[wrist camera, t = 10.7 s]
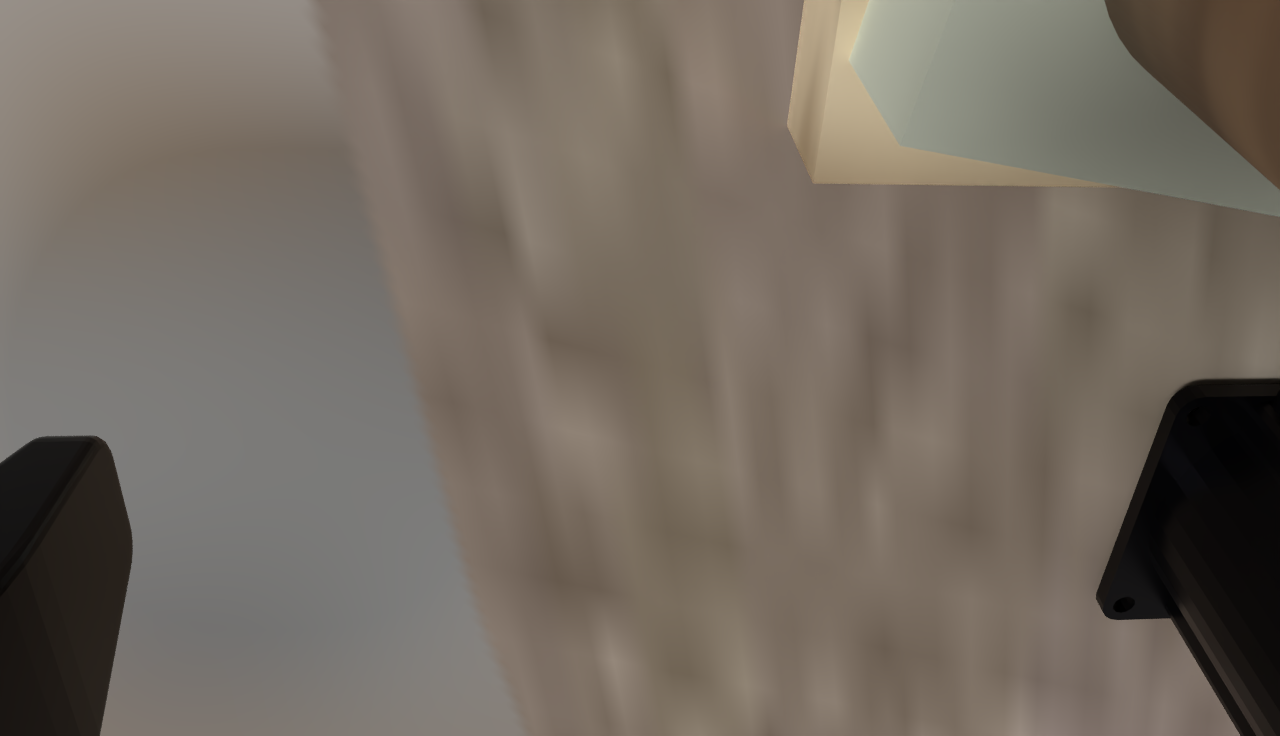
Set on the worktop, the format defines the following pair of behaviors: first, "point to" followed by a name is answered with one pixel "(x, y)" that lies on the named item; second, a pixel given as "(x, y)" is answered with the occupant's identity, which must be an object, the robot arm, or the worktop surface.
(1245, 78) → the brown rounded cylinder
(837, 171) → the maple block
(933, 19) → the sage block
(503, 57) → the worktop surface
